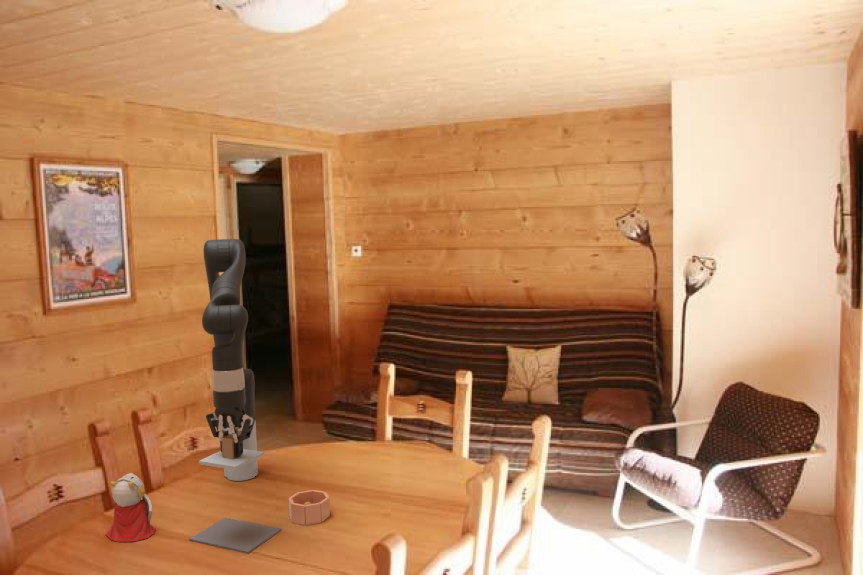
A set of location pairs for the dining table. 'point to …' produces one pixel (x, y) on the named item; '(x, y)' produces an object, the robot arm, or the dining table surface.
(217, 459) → the lid
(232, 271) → the robot arm
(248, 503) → the dining table surface
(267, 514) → the dining table surface
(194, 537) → the mat
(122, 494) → the figurine
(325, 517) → the bowl
